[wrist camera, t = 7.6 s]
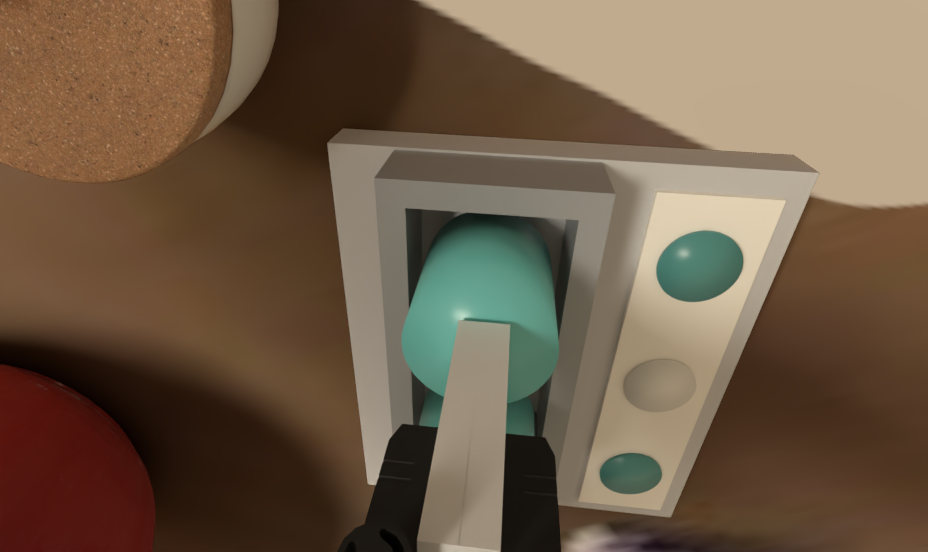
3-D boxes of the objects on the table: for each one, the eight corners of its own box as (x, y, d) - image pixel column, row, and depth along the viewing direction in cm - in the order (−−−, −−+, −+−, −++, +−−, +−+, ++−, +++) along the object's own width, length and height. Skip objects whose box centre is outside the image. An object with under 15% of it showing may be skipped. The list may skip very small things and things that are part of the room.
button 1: (427, 204, 18) (398, 277, 14) (558, 213, 18) (570, 290, 14) (428, 310, 21) (404, 398, 16) (543, 320, 20) (548, 412, 16)
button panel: (343, 128, 21) (296, 170, 16) (793, 154, 19) (869, 207, 15) (376, 456, 32) (353, 531, 28) (662, 487, 30) (684, 570, 26)
